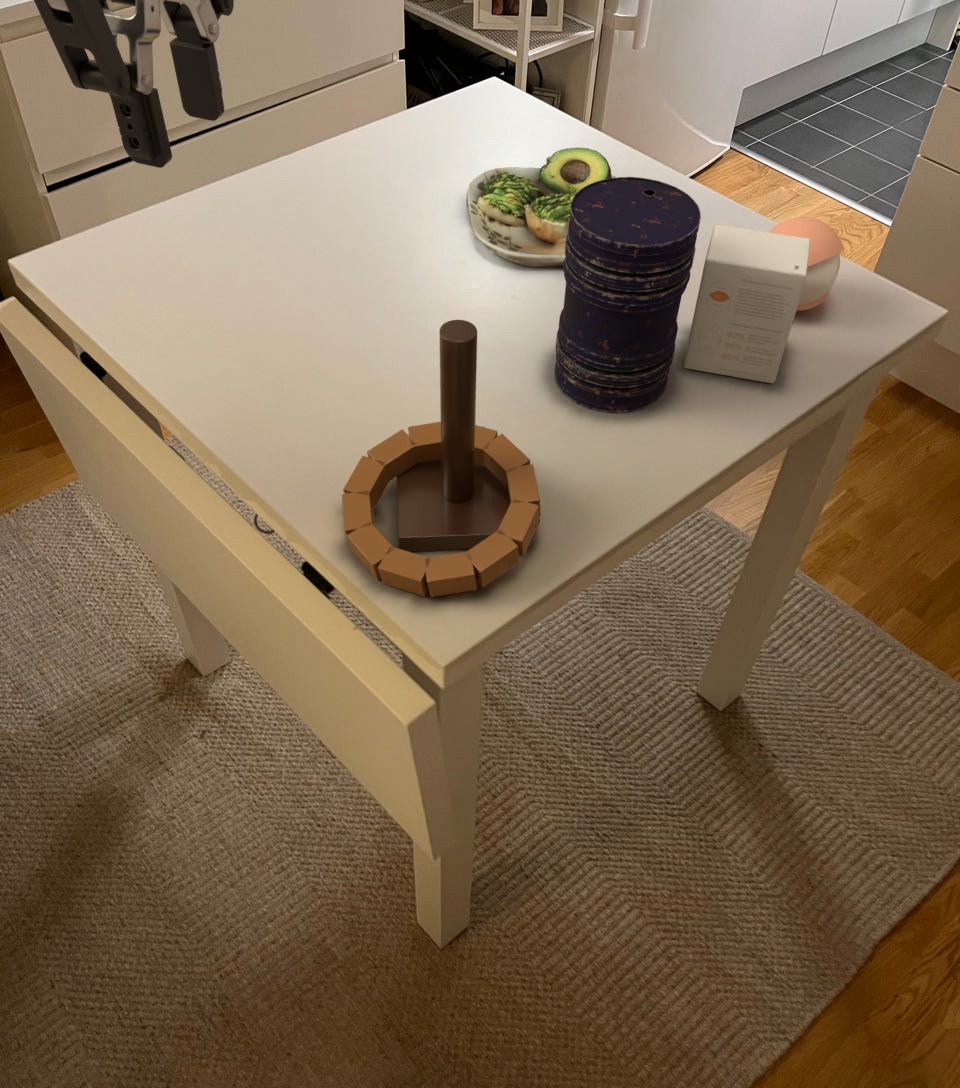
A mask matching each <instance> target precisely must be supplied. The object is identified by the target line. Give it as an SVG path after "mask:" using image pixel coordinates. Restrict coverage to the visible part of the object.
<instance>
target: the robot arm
mask: <svg viewBox="0 0 960 1088" xmlns="http://www.w3.org/2000/svg"><path fill="white" fill-rule="evenodd" d="M110 1H111V3H115V4H120V5H124V6H125V5H126V6H130V7H131V6H132V7H135V9H134V13H133V14H132V15H128V14H123V13H117V12H114V11H113V10H112V9H111V8H110V7H109V4H108V1H107V0H33V2H34V4H35V7H36V8H37V11H38V13H39V15H40V18H41V19H42V21H43V23H44V25H45V28H46V30H47V32H48V34H49V36H50V39H51V40H52V42H53V45H54V47H55V49H56V52H57V53H58V56H59V58H60V60H61V62H62V64H63V66H64V68H65V70H66V72H67V75H68V77H69V79H70V81H71V83H72V85H73V86H74V87H75V88H78V89H82V90H90V91H97V92H100V93H106V94H108V95H109V97H110V100H111V104H112V109H113V112H114V116H115V119H116V123H117V127H118V132H119V134H120V136H121V137H120V139H121V142H122V147H123V149H124V151H125V152H126V154H127V156H128V157H129V158H130V159H131V160H132V161H133V162H134V163H136V164H140V165H144V166H148V167H154V168H158V169H161V168H164V167H165V166H166V165H167V164H168V163H170V162H171V160H172V159H173V153H172V148H171V144H170V139H169V135H168V131H167V126H166V121H165V117H164V113H163V107H162V103H161V100H160V94H159V91H158V88H156V87H154V81H155V80H154V78H155V77H154V53H153V42H154V40H156V39H158V38H159V37H160V36H161V32H162V25H161V24H162V22H161V21H162V20H163V24H164V25H165V28H166V30H167V32H168V33H169V34H170V35H171V36H176V37H174V38H172V39H171V40H170V41H169V42H168V43H169V48H170V53H171V57H172V62H173V67H174V72H175V77H176V81H177V86H178V91H179V96H180V101H181V107H182V109H183V111H184V113H186V114H187V115H188V116H190V117H191V118H197V119H202V120H207V121H211V122H215V121H217V120H218V119H219V118H221V116H223V115H224V113H225V103H224V99H223V98H224V97H223V87H222V82H221V79H220V78H221V76H220V71H219V63H218V60H217V54H216V47H215V43H216V42H218V39H219V36H220V24H219V20H220V18H221V16H226V17H229V16H231V15H232V13H233V10H234V4H235V0H110ZM118 34H119V35H123V36H125V37H126V39H127V41H128V49H129V50H128V53H129V62H126V61H124V59H123V57H122V54H121V52H120V49H119V47H118ZM86 50H87V51H88V52H90V53H91V54H92V56H93V59H90V58H89V56H88V54H87V51H86Z"/></svg>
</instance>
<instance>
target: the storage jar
mask: <svg viewBox="0 0 960 1088" xmlns="http://www.w3.org/2000/svg"><path fill="white" fill-rule="evenodd" d="M701 220H702V212H701V209H700V206H699V204H698V203H697V202H696V200H695V199H693V198H692V197H691V195H689V194H688V193H686V192H685V191H684V190H682V189H680V188H678V187H677V186H675V185H671V184H669V183H668V182H667V183H666V182H663V181H660V180H657V179H652V178H647V177H646V178H645V177H637V176H616V178H609V179H604V180H600V181H596V182H593V183H591V184H589V185H587V186H585V187H583V188H582V189H580V190H579V191H578V192H577V193H576V194H575V196H574V197H573V198H572V201H571V206H570V221H569V227H568V233H567V236H566V245H565V256H566V257H565V260H564V266H562V267H563V276H564V281H565V290H564V299H563V307H562V310H561V311H560V314H559V320H558V329H557V332H556V337H555V338H556V339H555V364H554V374H553V375H554V380H555V383H556V386H557V387H558V388H559V390H560V392H561V393H563V395H564V396H565V397H566V398H568V399H570V400H571V401H572V402H574V403H575V404H578V405H579V406H582V407H583V408H586V409H590V410H594V411H596V412H602V413H612V414H619V413H620V414H621V413H630V412H631V413H632V412H635V411H639V410H642V409H646V408H647V407H649V406H651V405H652V404H655V402H657V401H658V400H659V399H660V398H661V397H662V396H663V395H664V393H665V391H666V388H667V383H668V378H669V376H668V375H669V373H670V370H671V369H670V368H671V366H672V364H673V361H674V356H675V351H676V340H677V335H678V330H679V327H678V324H679V323H678V321H677V320H678V316H679V311H680V306H681V301H682V297H683V294H684V293H685V292H686V290H687V287H688V284H689V282H690V278H691V270H692V268H693V264H694V258H695V254H696V244H697V238H698V232H699V229H700V224H701Z"/></svg>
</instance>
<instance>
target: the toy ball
mask: <svg viewBox="0 0 960 1088" xmlns="http://www.w3.org/2000/svg"><path fill="white" fill-rule="evenodd" d="M768 232H769V233H776V234H782V235H789V236H795V237H802V238H809V239H810V249H809V257H808V265H807V273H806V280H805V283H804V286H803V290H802V293H801V297H800V300H799V303H798V307H797V310H796V312H801V311H806V310H811V309H813V308H815V307H817V306H819V305H820V304H821V303H822V302H824V301H825V299H826V298H827V297H828V295H829V293H830V292H831V290H832V287H833V286H834V284H835V283H836V280H837V278H838V276H839V272H840V266H841V255H840V254H841V253H842V252H843V251H844V250H845V247H844V244H843V242H842V239H841V237H840V236H839V234H838V233H837V232H836V231H835V229H834V228H833V227H832V226H830V224H828V223H826V222H824V221H823V220H821V219H818V218H814V217H808V216H800V217H799V216H798V217H793V218H789V219H786V220H784V221H782V222H780V223H778V224H776V225H775V226H774V227H772V228H771V229H770V230H769V231H768Z"/></svg>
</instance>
